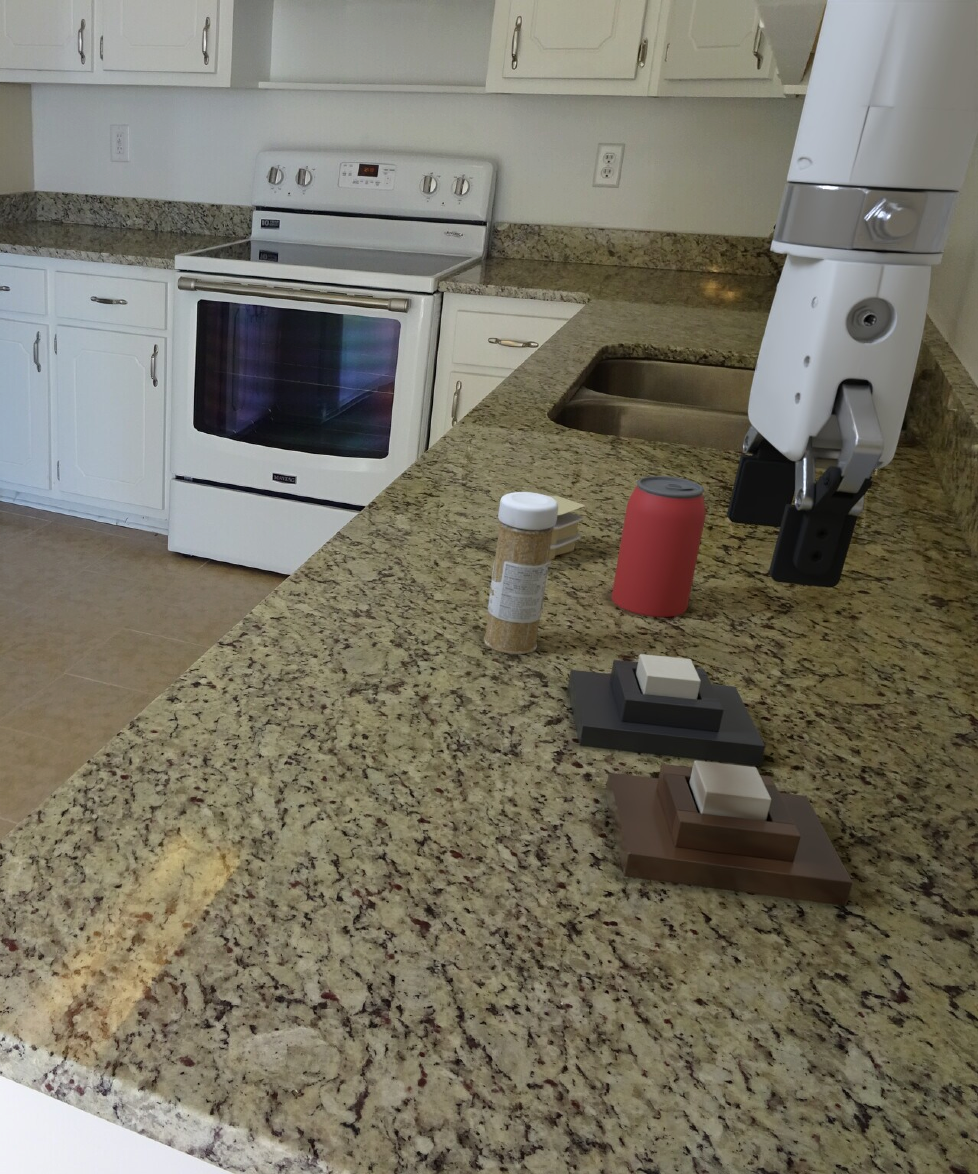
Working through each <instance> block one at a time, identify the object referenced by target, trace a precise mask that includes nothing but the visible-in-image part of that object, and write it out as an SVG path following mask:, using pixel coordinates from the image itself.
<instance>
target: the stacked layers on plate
mask: <svg viewBox="0 0 978 1174" xmlns="http://www.w3.org/2000/svg"><path fill="white" fill-rule="evenodd" d="M548 496H549V497H551V498H553V499H555V500H556V501H557V503H558V514H557V521H556V524H555V526H554V530H553V531H552V539H551V546H550V552H549V561H551V560H554V559H555V558H556V557H555V556H559V555H563V554H566V553H571V552H574V551H575V548H576V547H575V546H576V542H577V541H578V540H581V537H582V536H581V535H580V534H577V533H578V528H579V522H582V521H584V518H585V517H584V516H581V515H579V514H576V513H573V511H575V510H578V509H581V508H583V507H586V505H585V504H582V503H580V502H577V501H573V500H571V499H568V498H565V497H562V496H559V495H548Z"/></svg>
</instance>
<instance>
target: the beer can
mask: <svg viewBox="0 0 978 1174" xmlns="http://www.w3.org/2000/svg"><path fill="white" fill-rule="evenodd" d="M703 493H705V488H704V486H702V485H701V484H700V483H698V482H695V481H694V480H689V479H686V478H682V477H675V476H666V475H651V476H650V475H649V476H644V477H640V478H639V479H638V480H637V481H636V487H635V488H634V489H633V491H632V493H631V494H630V495H629V498H628V501H627V503H626V509H625V514H624V521H623V527H622V533H621V538H620V544H619V551H618V556H617V561H616V568H615V574H614V580H613V584H612V585H613V586H612V592H611V600H612V602H613V604H615V606H617V607H619V608H621V609H622V610H624V611H628V612H630V613H632V614H637V615H641V616H646V617H654V618H673V617H678V616H680V615H683V614H685V612H686V611H687V610H688V606H689V602H690V597H691V590H692V586H693V582H694V576H695V572H696V571H695V570H696V567H697V561H698V556H699V551H700V546H701V541H702V537H703V531H704V526H705V521H706V516H707V512H706V509H707V508H706V503H705V499H704V494H703Z"/></svg>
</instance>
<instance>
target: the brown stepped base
mask: <svg viewBox="0 0 978 1174" xmlns="http://www.w3.org/2000/svg"><path fill="white" fill-rule="evenodd" d="M692 768H693V766H683V765H676V764H675V765H673V764H666V763H661V765H660V769H659V773H658V777H650V776H642V775H633V774H625V773H616V772H609V773H608V776H607V782H606V786H605V791H604V795H605V800H606V804H607V809H608V814H609V817H610V822H611V827H612V830H613V834H614V839H615V843H616V848H617V852H618V857H619V861H620V865H621V870H622V873H623V876H624V877H627V878H633V879H643V880H648V881H649V880H650V881H657V882H664V883H671V884H679V885H686V886H693V887H694V886H695V887H701V888H708V889H716V890H724V891H731V892H737V893H738V892H739V893H746V894H752V895H760V896H761V895H762V896H766V897H767V896H768V897H777V898H782V899H783V898H784V899H790V900H798V901H804V902H805V901H806V902H812V903H813V902H814V903H820V904H827V905H835V906H844V907H846V906H847V902H848V900H849V897H850V894H851V891H852V890H851V889H852V887H853V880H852V878H851V877H850V875H849V872H848V871H847V869H846V868H845V866H844V864H843V862H842V860H841V858H840V856H839V854H838V852H837V850H836V849H835V847H834V844H833V843H832V841H831V839H830V837H829V835H828V833H827V832H826V829H825V827H824V826H823V824H822V822H821V820H820V818H819V817H818V815H817V812H816V810H815V809H814V807H813V804H812V803H811V801H810V800H809V797H808V796H807V795H802V794H794V793H786V792H780V791H779V790H778V787H777V785H776V784H775V781H774V780H773V777H772V776H769V775H762V774H760V776H761V778H762V780H763V783H764V785H765V787H766V789H767V791H768V793H769V795H770V797H771V803H770V807H769V811H768V815H767V819H766V821H760V820H752V819H744V818H736V817H727V816H719V815H711V814H703V813H700V812H699V809H698V806H697V804H696V801H695V798H694V795H693V793H692V790H691V787H690V784H689V782H690V778H691V773H692Z"/></svg>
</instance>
